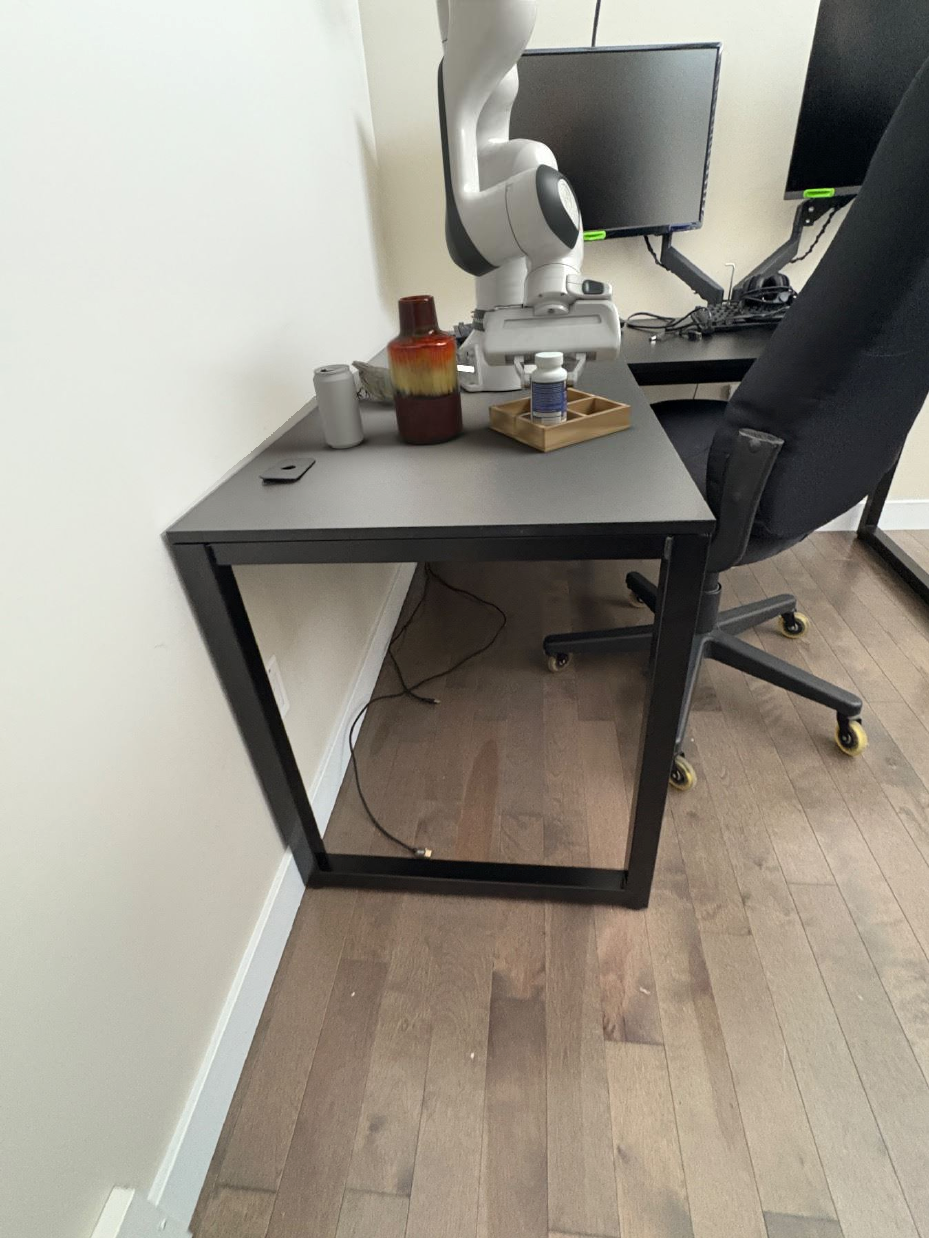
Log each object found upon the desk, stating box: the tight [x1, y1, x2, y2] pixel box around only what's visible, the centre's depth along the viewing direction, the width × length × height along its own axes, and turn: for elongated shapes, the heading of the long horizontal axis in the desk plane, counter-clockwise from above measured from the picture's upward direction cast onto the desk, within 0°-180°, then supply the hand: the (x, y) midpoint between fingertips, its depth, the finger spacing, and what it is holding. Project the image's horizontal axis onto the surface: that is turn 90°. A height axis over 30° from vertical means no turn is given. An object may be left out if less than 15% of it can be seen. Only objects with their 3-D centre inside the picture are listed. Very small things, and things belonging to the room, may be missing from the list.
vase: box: [385, 294, 464, 446], centre depth 95 cm, size 11×11×20 cm
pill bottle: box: [530, 352, 568, 427], centre depth 89 cm, size 5×5×10 cm
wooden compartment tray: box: [488, 388, 631, 453], centre depth 96 cm, size 16×16×4 cm
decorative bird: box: [351, 360, 394, 404], centre depth 117 cm, size 5×16×7 cm, turn 50°
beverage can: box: [312, 363, 365, 449], centre depth 97 cm, size 6×6×12 cm
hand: (549, 387), depth 88 cm, fingers closed on pill bottle, 5 cm apart
